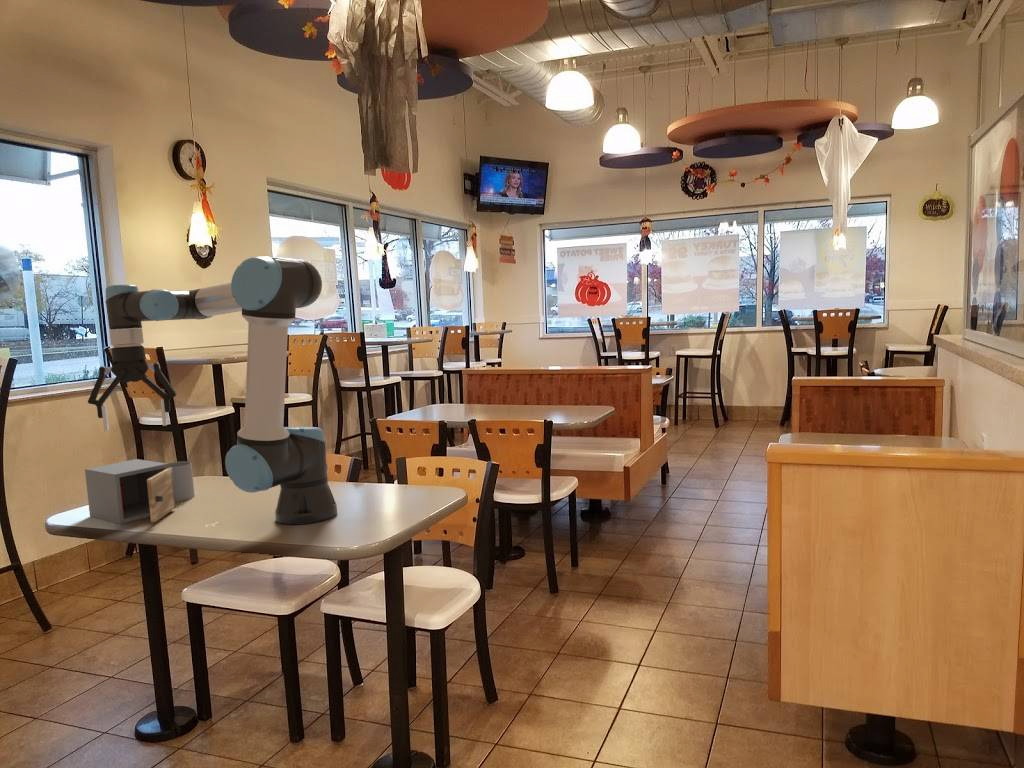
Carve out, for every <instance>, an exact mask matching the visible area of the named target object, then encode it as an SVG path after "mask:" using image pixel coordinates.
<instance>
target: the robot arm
mask: <svg viewBox="0 0 1024 768" xmlns="http://www.w3.org/2000/svg"><path fill="white" fill-rule="evenodd" d="M232 274H233V275H232V277H231V282H229V283H223V284H218V285H213V286H206V287H202V288H197V289H193V290H167V289H162V288H161V289H150V290H143V291H139V288H138V286H137V285H135V284H112V285H108V286H106V288H105V306H106V315H107V322H108V329H109V330H108V332H109V333H108V334H109V342H110V345H111V346H112V348H111V358H112V359H111V360H112V365H111V366H105V365H103V366H100V367H99V368H98V377H97V379H96V382H95V384H94V385H93V388H92V390H91V393H90V395H89V397H88V400H87V403H88V404H89V405H94V406H96V410H97V417H98V418H99V419H102V423H103V424H102V425H103V431H104V432H109V431H110V422H109V421H110V420H109V414H108V404H105V402H106V401H107V399H109V397H110V396H111V395H112V393H113V392H114V390H115V389H116V388H117V387H118V386H119V385H120V383H121V382H122V383H125V384H126V383H129V382H130V383H131V382H133V383H137V382H140V381H141V382H143V383H144V384H146V385H147V386H148V387H149V388H150V389H151V390H152V391H153V392H155V393H156V394H157V395H158V396H159V397H161V398H162V399H161V400H160V408H161V409H160V410H161V420H162V426H163V427H165V426H168V418H167V413H170V412H171V402H170V400H171V399H172V398H174V397H176V396H177V392H176V390H175V389H174V387H173V385H172V384H171V383H170V382H169V380H168V379H167V378H166V376H165V374H164V373H163V372H162V368H161V365H160V363H159V362H155V363H150V364H148V363H147V361H146V352H145V351H146V350H145V346H144V345H142V344H144V343H145V341H144V335H143V334H144V333H143V325H142V322H159V321H160V322H162V321H163V322H164V321H179V320H206V319H210V318H212V317H215V316H220V315H225V314H232V313H237V312H241V317H242V318H244V320H245V321H247V324H248V325H247V326H248V329H247V355H246V357H247V359H246V379H245V380H246V381H245V382H246V383H245V404H244V406H245V407H244V409H245V411H244V426H242V427H241V428H240V429H239V430H238V431H237V435H236V437H237V438H236V445H235V444H234V445H233V446H232V447H231V448H230V449H229V450H228V451H227V452H226V455H225V458H224V459H225V460H224V464H225V470H226V473H227V475H228V478H229V479H230V481H232V483H233V484H234V486H236V488H238V489H239V490H241V491H242V492H245V493H250V494H251V493H258V492H264V491H268V490H269V489H272V488H274V487H279V486H280V490H279V495H278V499H277V504H276V508H275V513H274V514H275V521H276V522H277V523H279V524H284V525H306V524H307V525H308V524H313V523H318V522H322V521H325V520H328V519H331V518H334V517H335V516H336V515H337V514H338V506H337V505H338V504H337V502H336V501H335V498H334V495H333V493H332V490H331V488H330V485H329V481H328V478H329V477H328V466H327V464H328V462H327V450H326V444H327V443H326V439H325V432H324V430H323V429H322V428H320V427H316V426H284V423H285V421H284V418H285V402H286V401H285V395H286V381H287V380H286V375H287V357H288V355H287V352H288V335H289V334H288V333H289V325H290V324H291V323H292V322H293V321H295V319H296V313H297V312H296V311H297V309H301V308H306V307H309V306H311V305H312V304H314V303H315V302H316V301H317V300H318V298H319V297H320V295H321V292H322V288H323V282H322V277H321V274H320V272H319V270H318V269H317V268H316V266H315V265H313V264H312V263H310V261H309V262H308V261H306V260H304V259H300V258H289V257H288V258H287V257H285V258H284V257H276V256H268V255H266V256H263V255H262V256H254V257H253V256H251V257H248V258H246V259H244V260H243V261H242V262H241V263H240V264H239V265H237V267H235V270H234V272H233V273H232ZM149 369H150V370H151V372H153V373H155V375H156V377H157V378H158V379H159V381H160V382H161V384H162V386H163V387H164V388H165V389H166V391H167V392H165V391H164V390H163V389H162V388H161V387H160V386H159V385H158V384H156V383H155V382H154V381H153V380H152V379H151V378H150V377H149V376H148V375H146V374H147V372H148V371H149ZM110 372H111V373H112V374H113V375H115V378H114V379H113V380H112V382H110V384H109V386H108V387H107V388H106V390H104V391H103V394H101V396H100V397H99V399H97V398H98V395H99V393H100V391H101V389H102V386H103V384H104V381H105V380H106V377H107V376H108V375H109V374H110Z"/></svg>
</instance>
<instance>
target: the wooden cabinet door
mask: <svg viewBox="0 0 1024 768" xmlns="http://www.w3.org/2000/svg"><path fill="white" fill-rule="evenodd" d="M147 487H148V497H149V507H150V523H156V522H158V521H159V520H160V519H162V518H163V517H164V516H166V515H168V514H169V513H170V512H172V511H173V510H175V509H176V502H175V495H174V485H173V474H172V468H167V469H165V470H164V471H162V472H160V473H158V474H156V475H154V476H153V477H151V478H149V479H147Z"/></svg>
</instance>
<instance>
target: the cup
mask: <svg viewBox="0 0 1024 768" xmlns="http://www.w3.org/2000/svg"><path fill="white" fill-rule="evenodd" d="M167 464H168V468H172V474H173V485H174V495H175V503H176V502H184V501H188V500H190V499H193V498H194V497H195V495H196V494H195V486H194V474H193V465H192V464H193V463H192V462H191V461H174V462H168V463H167Z"/></svg>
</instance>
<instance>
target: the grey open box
mask: <svg viewBox="0 0 1024 768" xmlns="http://www.w3.org/2000/svg"><path fill="white" fill-rule="evenodd" d="M167 468H168V464H167V463H166V462H158V461H153V460H152V461H151V460H146V459H145V460H144V459H140V458H139V459H138V458H136V459H130V460H126V461H120V462H114V463H110V464H104V465H99V466H94V467H89V468H84V474H85V484H86V491H87V503H88V511H89V517H90V518H94V519H98V520H102V521H106V522H108V523H109V522H110V523H114V524H118V525H123V524H127V523H131V522H135V521H139V520H141V519H142V520H143V519H146V518H149V517H150V507H149V497H148V487H147V479H149V478H151V477H153V476H154V475H156V474H158V473H160V472H162V471H164V470H165V469H167ZM150 518H151V517H150Z"/></svg>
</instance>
